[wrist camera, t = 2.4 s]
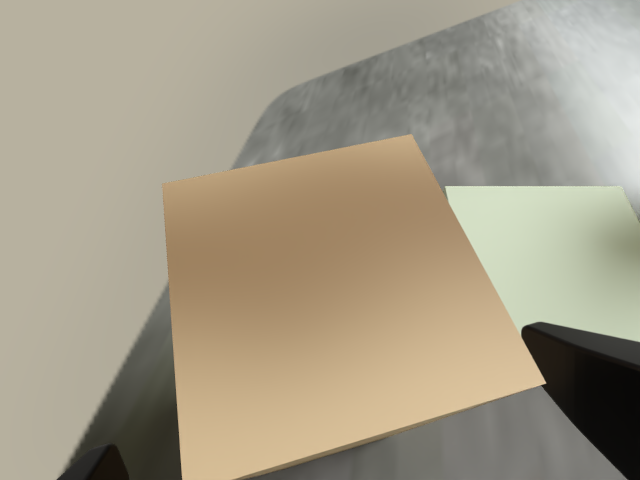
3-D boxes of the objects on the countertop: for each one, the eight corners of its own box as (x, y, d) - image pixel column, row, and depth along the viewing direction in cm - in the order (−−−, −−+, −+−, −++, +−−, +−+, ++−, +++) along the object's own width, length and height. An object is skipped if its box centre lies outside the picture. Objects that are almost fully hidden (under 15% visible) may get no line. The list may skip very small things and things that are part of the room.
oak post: (388, 436, 15) (546, 383, 5) (282, 469, 15) (182, 494, 4) (355, 332, 18) (411, 134, 7) (261, 357, 17) (162, 183, 6)
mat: (702, 371, 17) (714, 368, 16) (478, 371, 17) (483, 368, 16) (614, 192, 22) (621, 186, 21) (442, 192, 22) (445, 186, 21)
